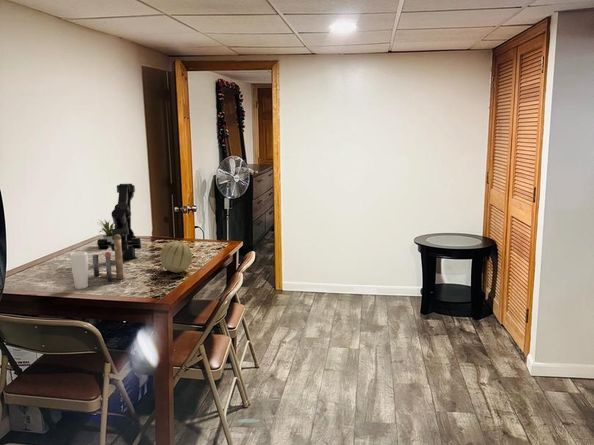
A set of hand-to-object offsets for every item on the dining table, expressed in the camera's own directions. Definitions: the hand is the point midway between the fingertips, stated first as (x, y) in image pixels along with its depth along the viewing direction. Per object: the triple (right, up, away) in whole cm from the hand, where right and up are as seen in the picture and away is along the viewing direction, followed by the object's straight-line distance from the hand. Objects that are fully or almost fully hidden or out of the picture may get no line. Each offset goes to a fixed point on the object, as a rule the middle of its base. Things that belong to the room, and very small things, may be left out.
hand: (118, 259), depth 235 cm
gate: (-3, -8, +1) cm, 9 cm away
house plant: (-26, +3, +59) cm, 65 cm away
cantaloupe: (+24, -7, +11) cm, 27 cm away
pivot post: (-11, -8, +3) cm, 14 cm away
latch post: (-2, -9, -5) cm, 11 cm away
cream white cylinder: (-12, -11, -12) cm, 20 cm away
